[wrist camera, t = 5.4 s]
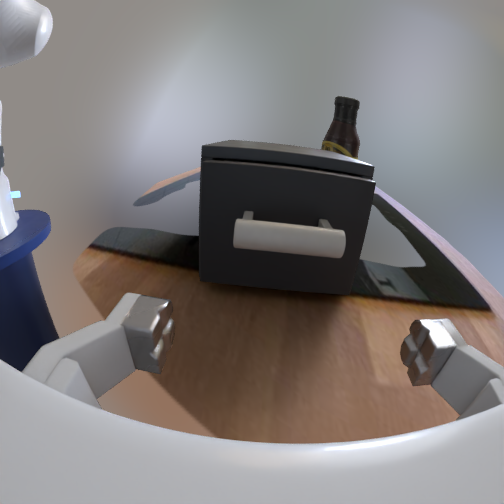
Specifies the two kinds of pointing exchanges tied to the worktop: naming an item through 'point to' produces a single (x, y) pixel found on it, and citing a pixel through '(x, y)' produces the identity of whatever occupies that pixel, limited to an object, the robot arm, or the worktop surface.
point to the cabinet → (283, 158)
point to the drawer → (282, 225)
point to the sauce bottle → (343, 129)
